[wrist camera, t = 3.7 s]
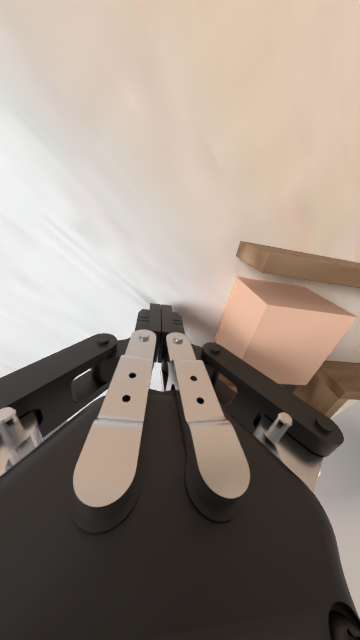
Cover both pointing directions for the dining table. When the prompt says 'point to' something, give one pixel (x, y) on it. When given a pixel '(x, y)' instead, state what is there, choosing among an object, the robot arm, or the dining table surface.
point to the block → (281, 329)
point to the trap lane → (332, 377)
